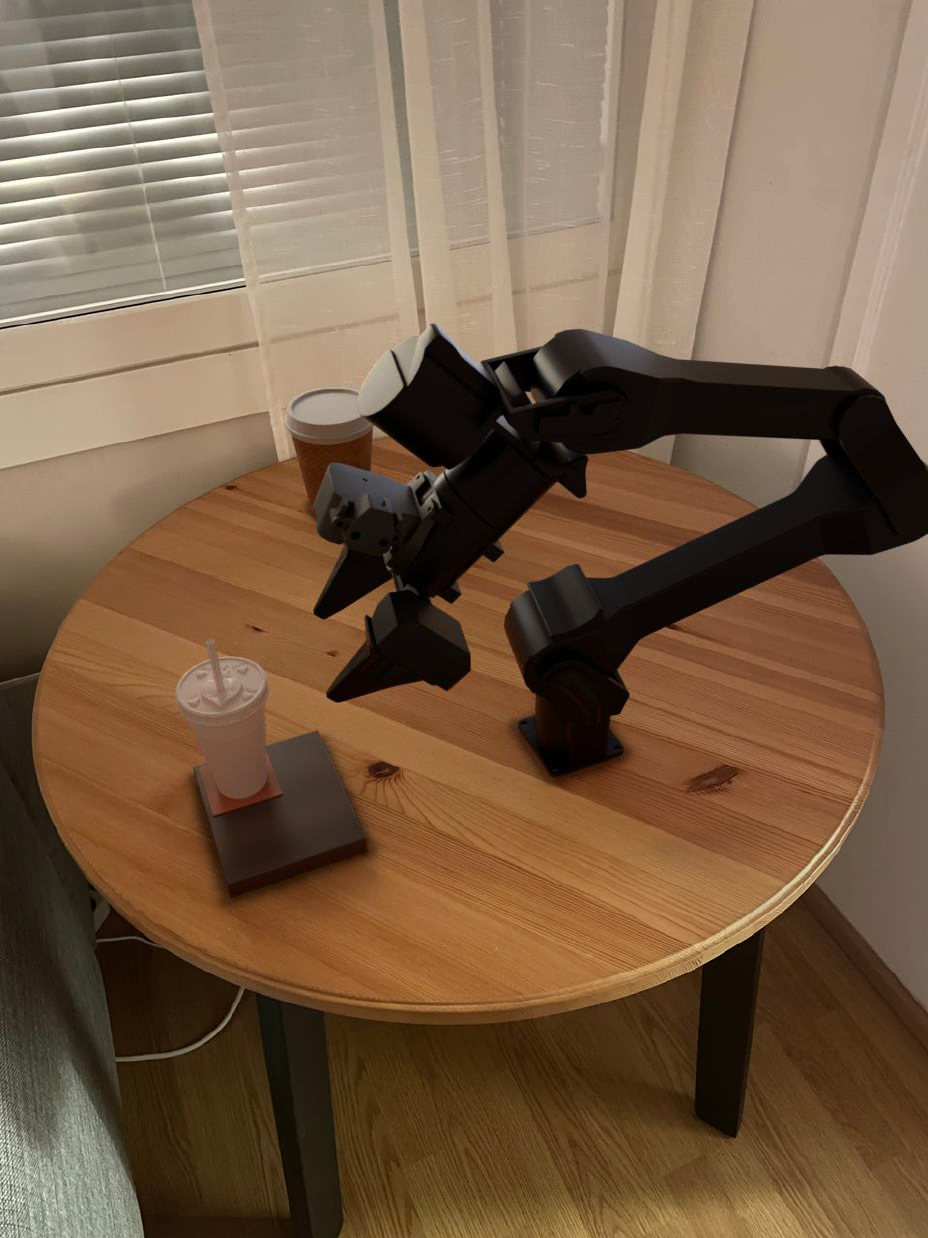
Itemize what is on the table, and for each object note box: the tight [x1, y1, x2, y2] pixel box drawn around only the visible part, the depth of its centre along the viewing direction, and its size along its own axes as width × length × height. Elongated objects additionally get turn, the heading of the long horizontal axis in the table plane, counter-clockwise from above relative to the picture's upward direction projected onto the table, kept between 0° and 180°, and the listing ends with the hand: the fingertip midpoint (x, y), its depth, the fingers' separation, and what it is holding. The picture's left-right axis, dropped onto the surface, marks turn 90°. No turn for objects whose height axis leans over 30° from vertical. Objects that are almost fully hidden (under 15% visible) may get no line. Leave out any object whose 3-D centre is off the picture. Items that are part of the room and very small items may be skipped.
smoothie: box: [174, 638, 270, 799], centre depth 71 cm, size 6×6×14 cm
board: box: [192, 729, 368, 898], centre depth 75 cm, size 12×10×2 cm
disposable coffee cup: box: [283, 386, 375, 516], centre depth 106 cm, size 10×10×12 cm
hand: (324, 655), depth 70 cm, fingers open, 9 cm apart
